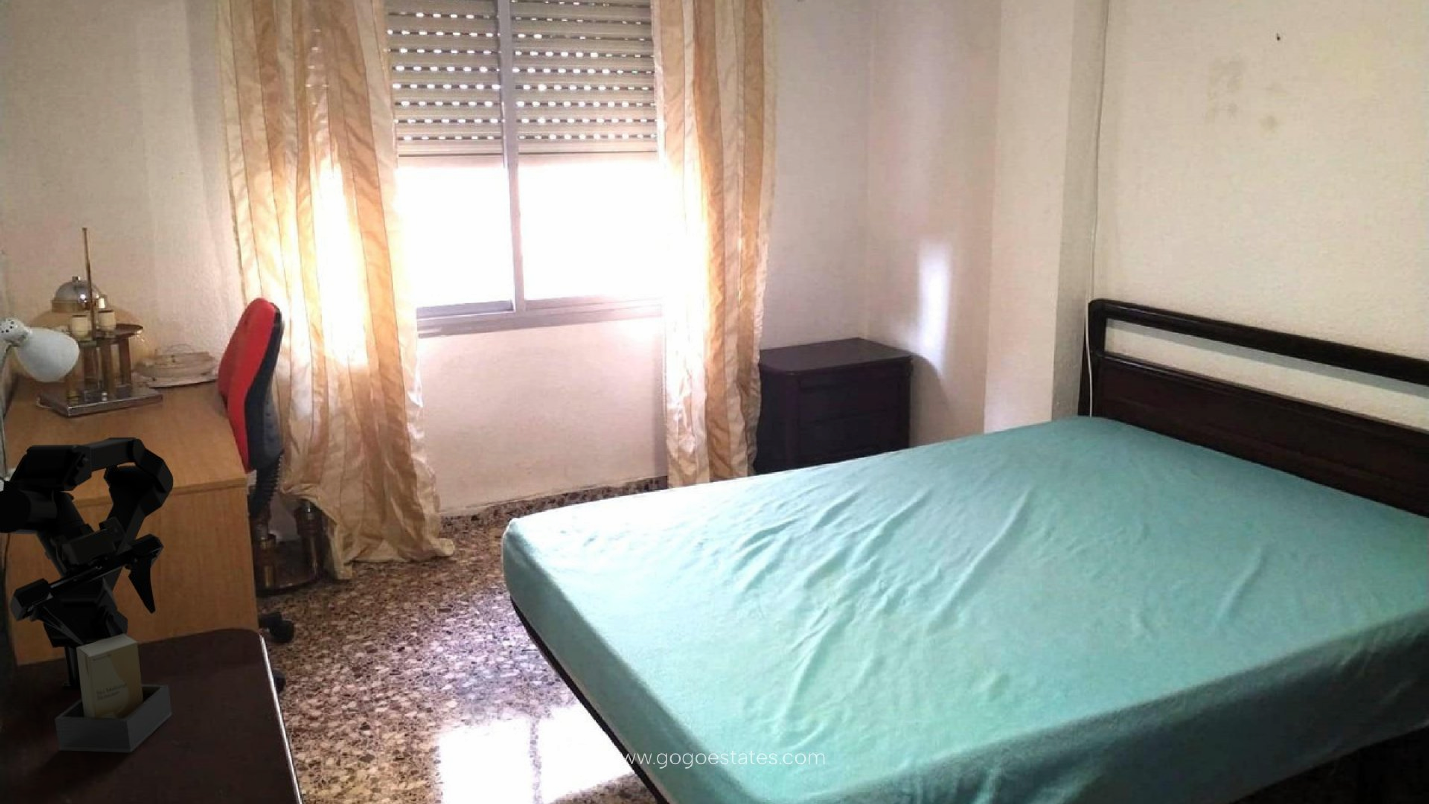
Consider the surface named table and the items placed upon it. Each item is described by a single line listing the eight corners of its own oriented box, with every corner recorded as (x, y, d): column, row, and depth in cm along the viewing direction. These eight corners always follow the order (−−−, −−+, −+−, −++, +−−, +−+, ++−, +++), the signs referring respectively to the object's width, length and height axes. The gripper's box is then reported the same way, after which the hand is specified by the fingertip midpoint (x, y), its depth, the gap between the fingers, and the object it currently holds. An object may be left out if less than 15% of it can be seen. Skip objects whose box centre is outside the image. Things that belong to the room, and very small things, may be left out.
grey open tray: (59, 750, 139) (54, 718, 138) (104, 712, 148) (100, 683, 147) (130, 752, 138) (126, 721, 137) (172, 714, 147) (168, 685, 146)
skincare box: (98, 743, 139) (85, 657, 136) (85, 732, 142) (72, 647, 139) (149, 724, 144) (138, 640, 141) (135, 713, 147) (124, 631, 144)
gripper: (-5, 537, 134) (57, 642, 132) (142, 482, 148) (200, 576, 146) (-15, 570, 141) (43, 669, 140) (126, 514, 155) (181, 604, 153)
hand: (120, 628), depth 145 cm, fingers open, 9 cm apart
